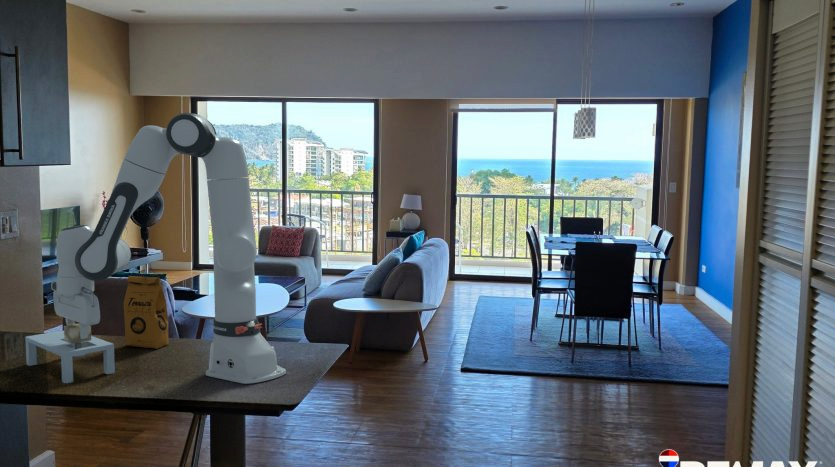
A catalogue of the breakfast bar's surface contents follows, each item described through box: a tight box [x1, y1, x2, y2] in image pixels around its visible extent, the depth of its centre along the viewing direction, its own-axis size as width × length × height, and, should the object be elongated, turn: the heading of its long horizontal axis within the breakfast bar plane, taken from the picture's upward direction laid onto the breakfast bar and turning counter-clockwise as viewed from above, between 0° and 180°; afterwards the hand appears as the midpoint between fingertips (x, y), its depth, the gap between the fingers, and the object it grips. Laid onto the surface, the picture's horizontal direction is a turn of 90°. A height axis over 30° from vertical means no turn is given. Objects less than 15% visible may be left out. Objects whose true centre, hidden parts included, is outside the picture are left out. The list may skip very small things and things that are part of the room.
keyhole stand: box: [25, 330, 116, 384], centre depth 194 cm, size 26×13×8 cm, turn 49°
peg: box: [63, 323, 92, 360], centre depth 189 cm, size 5×5×8 cm
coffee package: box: [123, 275, 169, 350], centre depth 218 cm, size 10×12×22 cm
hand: (77, 336), depth 189 cm, fingers closed on peg, 5 cm apart
